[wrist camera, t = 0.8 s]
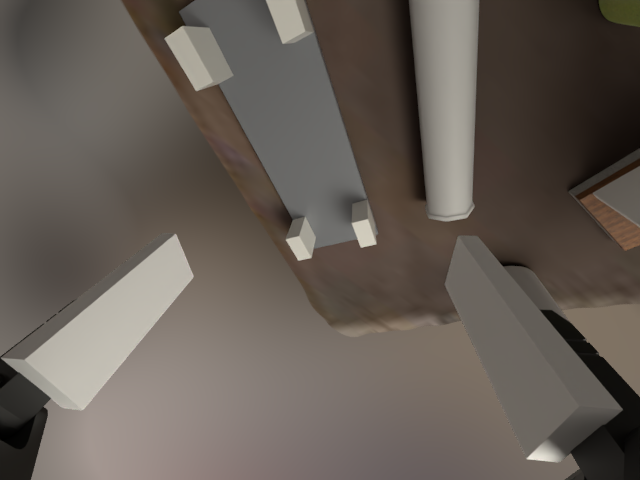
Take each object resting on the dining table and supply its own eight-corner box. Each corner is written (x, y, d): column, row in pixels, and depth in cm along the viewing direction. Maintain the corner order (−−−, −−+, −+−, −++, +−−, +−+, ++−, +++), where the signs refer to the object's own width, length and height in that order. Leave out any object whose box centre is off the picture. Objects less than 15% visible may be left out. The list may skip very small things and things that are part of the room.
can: (541, 279, 38) (599, 356, 29) (493, 299, 42) (529, 372, 33) (516, 254, 36) (570, 329, 27) (467, 278, 40) (499, 350, 31)
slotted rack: (286, -60, 19) (266, -86, 15) (377, 230, 36) (380, 255, 32) (184, 12, 23) (145, 7, 19) (310, 245, 40) (304, 270, 36)
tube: (388, -94, 16) (421, 221, 30) (490, -163, 13) (473, 221, 27) (405, -79, 19) (428, 198, 33) (488, -132, 16) (474, 195, 30)
